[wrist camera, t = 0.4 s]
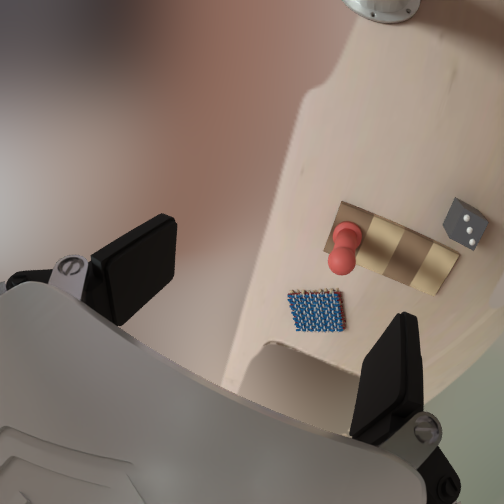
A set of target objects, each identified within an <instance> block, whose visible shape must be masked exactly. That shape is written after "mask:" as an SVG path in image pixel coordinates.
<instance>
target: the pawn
mask: <svg viewBox="0 0 504 504" xmlns="http://www.w3.org/2000/svg"><path fill="white" fill-rule="evenodd" d="M361 239H362V232H361V229H360V227H359V226H358V225H357V224H355V223H354V222H351V221H343V222H341V223H339V224H338V225H337V226H336V227H335V229H334V232H333V241H334V243H335V245H334V248H333V250H332V252H331V253H330V255H329V257H328V265H329V268H330V269H331V271H332V272H334V273H335V274H337V275H346V274H349V273H350V272H351V271H352V270H353V269H354V267H355V264H356V258H355V250H356V248H357V247H358V246H359V245H360V243H361Z"/></svg>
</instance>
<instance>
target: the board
mask: <svg viewBox="0 0 504 504" xmlns="http://www.w3.org/2000/svg"><path fill="white" fill-rule="evenodd" d="M343 221H351V222H354V223H355V224H357V225H358V226H359V227H360V229H361V232H362V239H361V243H360V245H359V246H358V247H357V248H356V250H355V258H356V264H357V265H359V266H362V267H364V268H367V269H369V270H372V271H374V272H376V273H379V274H381V275H384V276H386V277H389V278H391V279H393V280H396V281H398V282H401V283H403V284H405V285H408V286H410V287H413V288H415V289H417V290H420V291H422V292H424V293H427V294H429V295H431V296H435V294H436V292H437V291H438V289H439V288H440V286H441V285H442V283H443V282H444V280H445V278H446V277H447V275H448V274H449V272H450V270H451V269H452V267H453V265H454V264H455V262H456V260H457V258H458V257H459V254H458V252H457V251H455V250H453V249H451V248H449V247H447V246H445V245H443V244H441V243H439V242H437V241H435V240H433V239H430V238H428V237H426V236H424V235H422V234H420V233H418V232H415V231H413V230H411V229H409V228H406V227H404V226H402V225H400V224H397V223H395V222H393V221H390V220H388V219H386V218H383V217H381V216H378V215H376V214H374V213H371V212H369V211H366V210H364V209H361V208H359V207H356V206H354V205H351V204H349V203H346V202H343V201H341V204H340V207H339V210H338V213H337V215H336V218H335V221H334V224H333V226H332V229H331V232H330V235H329V237H328V240H327V243H326V245H325V248H324V252H326V253H329V254H330V253H331V252H332V250H333V248H334V245H335V243H334V241H333V232H334V229H335V227H336V226H337V225H338V224H339V223H341V222H343Z"/></svg>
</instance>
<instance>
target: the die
mask: <svg viewBox="0 0 504 504" xmlns="http://www.w3.org/2000/svg"><path fill="white" fill-rule="evenodd" d="M488 223H489V222H488V221H487V220H486V219H485V217H484V216H483V215H482V214H481V213H480V212H479V210H477V209H475V208H474V207H472V206H470V205H468V204H467V203H465V202H463V201H461V200H459V199H457V198H456V197H455V198H454V201H453V203H452V205H451V208H450V210H449V212H448V214H447V216H446V219H445V221H444V223H443V227H444V228H445V230H446V232H447V234H448V236H449V238H450V239H452V240H454V241H456V242H458V243H460V244H462V245H464V246H466V247H468V248H469V249H471V250H473V251H474V250H475V248H476V246H477V244H478V242H479V240H480V239H481V237H482V235H483V233H484V231H485V229H486V227H487V225H488Z"/></svg>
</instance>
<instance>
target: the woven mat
mask: <svg viewBox="0 0 504 504" xmlns="http://www.w3.org/2000/svg"><path fill="white" fill-rule="evenodd" d="M324 291H325V292H322V290H321V289H319V290H318V292H316V290H313V292H312V293H311V292H310V290H309V291H308V292H305V291H304V290H302V291H301V292H300V291H299V290H297V293H294V292H293V291H292V290H291V291H290V294H288V297H289V298H291V299H288V301H289V303H291V305H290V308H291V310H293V311H294V312H291V314H293V316H294V317H296V318H293V320H294V321H295V325H296V327H297V328H299V329H296V331H304V332H305V331H308V330H309V331H311V332H313V331H314V332H316V331H318V332H319V331H322V332H323V331H324V332H325V333H326V331H328V330H329V331H332V333H333V331H335V332H337V331H338V332H341V331H343V329H345V327H344V326H345V324H344V322H346V321H345V320H344V318H343V316H344V315H343V312H342V311H343V308H342V307H343V306H342V305H341V303H343V301H341V299H340V297H341V295H340V292H339V288H336V291H333V289H330V291H327V288H325V289H324ZM312 298H313V299H312ZM329 300H330V301H329ZM321 316H322V317H321ZM329 331H328V332H329Z"/></svg>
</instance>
